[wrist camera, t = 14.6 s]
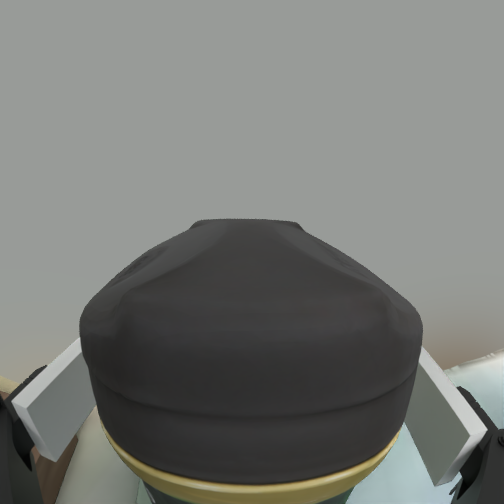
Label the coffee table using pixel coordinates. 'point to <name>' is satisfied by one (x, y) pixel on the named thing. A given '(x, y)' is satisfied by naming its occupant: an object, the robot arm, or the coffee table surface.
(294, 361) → the coffee jar
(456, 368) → the coffee table surface
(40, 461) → the walnut caddy
